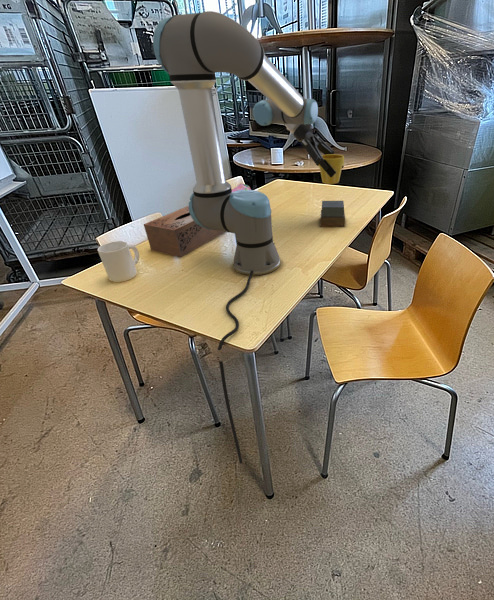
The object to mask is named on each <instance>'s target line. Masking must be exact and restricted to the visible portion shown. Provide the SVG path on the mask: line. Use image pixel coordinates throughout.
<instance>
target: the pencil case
mask: <svg viewBox="0 0 494 600" xmlns="http://www.w3.org/2000/svg"><path fill="white" fill-rule="evenodd" d="M231 189H232V188H231ZM237 190H252V189H251V187H250V186H249V185H248V184H245V183H241V182H240V183H239V184H238V185H236V187H234V188H233V189H232V192H234V191H237Z"/></svg>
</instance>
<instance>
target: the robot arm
mask: <svg viewBox="0 0 494 600" xmlns="http://www.w3.org/2000/svg"><path fill="white" fill-rule="evenodd" d="M152 46H153V52H154V56H155V58H156V59H155V60H156V61H157V63H158V65H160V66H161V67H160V68H161V69H162V70H163V71H164V72H166V74H168V76H169V80H170V84H172V85H173V86H174V87H175V88H176V89H177V91H178V95H179V100H180V105H181V111H182V115H183V120H184V125H185V130H186V136H187V142H188V145H189V151H190V155H191V156H190V157H191V160H192V161H191V162H192V165H193V170H194V171H193V172H194V177H195V181H196V183H195V185H194V186H193V187H192V194H191V195H190V196H189V200H190V201H188V206H189V212H190V215H191V217H192V219H193V220H194V222H195V223H196V224H198V225H199V226H201V227H204V228H207V229H210V230H219V231H225V233H229V234H230V233H231V234H234V236H235V243H236V247H235V252H234V255H233V268H234V270H235V271H236V272H237V273H239V274H241V275H245V276H248V278H247V281H246V284H245V287H244V288H243V290H242V291H240V292H239V293H238V294H236V295H234V296H233V297H232V298H231V299H229V300H228V302H227V303H226V305H225V311H226V313H227V314H228V316H229V317H230V318H231V319H232V320H233V321H234V323H235V326H234V329H232V330H230V331H229V332H228V333H226V334H224V336H223V337H222V338H221V339H220V341H219V343H218V346H217V351H221V350H222V348H223V345H224V343H225V341H226V340H227V339H228V338H229V337H231V336H232V335H234V334H235V333H237V332H238V330H239V328H240V321H239V319H238V318H237V317H236V316H235V315H234V313H232V311H231V310H230V305H231V304H232V303H233V302H234V301H235V300H237V299H239V298H240V297H241V296H243V295H244V294H245V293H246V292H247V290H249V286H250V282H251V281H252V280H251V279H252V276H263V275H267V274H271V273H272V272H275V271H276V270H278V269H279V268H280V266H281V258H280V254H279V252H278V250H277V247H276V245H275V242H274V236H273V223H272V208H271V203H270V199H269V197H268V195H266V194H265V193H264V192H262V191H259V190H255V189H251V190H237V191H234V192H232V184H230V183H229V182H228V181H227V180H226V176H225V169H224V163H223V155H222V149H221V142H220V137H219V136H220V135H219V130H218V123H217V115H216V110H215V103H214V97H213V90H212V89H213V87H214V85H215V84H216V82H217V77H216V73H227V74H232V75H234V76H235V77H236V78H238V79H239V80H240V81H246V82H247V81H248V83H249V84H251V86H253V87H254V88H255V89H256V90H257V91H259V92H260V93H261V95H263V96H264V97H265V99H261V100H259V101H258V102H256V103H255V104H254V106H253V109H252V115H253V119H254V120H255V122H256V123H257V124H258V125H260V126H262V127H265V126H269V125H271V124H275V125H276V124H277V125H279V124H281V125H282V124H283V125H284V126H285V127H286V130H287V131H289V132H290V133H291V134H292V135H293V137H294V138H295V139H296V140H297V142H298V143H299V142H300V144H301V145H302V147H304V149H305V150H306V152H307V153H308V155H309V157H310V158H311V160H312V162H314V164H315V165H316V166H317V167H319V166H318V165H319V164H320V166H321V167H322V168H323V169H324V170H325V171H326V173H327V174H328V175H329V176H330V177H331V178H332V177H333V176H334V175H335V174H336V171H335V170H334V169H333V168H332V167H331V165H330V164H329V163H328V162H327V161H326V160H325V159H323V157H322V155H326V154H336V151H335V150H333V149H332V147H330V146H329V144H327V143H326V142H325V140H323V139H322V138H321V137H320V136H319V134H318V133H315V134H314V133H313V130H314V126H313V125H314V124H315V123H316V121H317V120H318V117H319V116H318V115H319V105H318V102H317V101H316V100H315V99H314V98H308V97H307V98H305V97H303V96H302V94H301V93H300V92H299V91H298V90H297V88H295V87H294V86H293V84H292V83H291V82H290V81H289V80H288V79H287V78H286V76H284V74H283V73H282V72H281V71H280V70H279V69H278V68H277V67H276V66H275V64H273V62H272V61H271V60H270V59H269V58H268V57H267V55H266V54H265V49H264V47H263V45H262V44H261V42H260V41H259V40H258V39H257V38H256V37H255V36H254V35H253V33H251V32H250V31H249V30H248V29H246V27H244V26H242V24H240V23H239V22H237V20H234V19H233V18H231V17H229V16H227V15H225V14H222V13H220V12H217V11H209V10H208V11H203V12H194V13H185V14H174V15H171V16H170V17H166V18H163V19H161V20H160V21H159V22H158V23H157V26H156V27H155V29H154V32H153V37H152ZM344 167H345V166H344V165H343V166H342V169H343V168H344ZM218 364H219V369H220V378H221V383H222V389H223V395H224V400H225V406H226V410H227V414H228V419H229V424H230V427H231V431H232V435H233V439H234V444H235V449H236V452H237V456H238V461H239V464H243V458H242V454H241V448H240V444H239V440H238V436H237V431H236V427H235V422H234V419H233V414H232V410H231V409H232V408H231V404H230V399H229V394H228V388H227V382H226V376H225V375H226V374H225V368H224V367H225V366H224V362H223V360H222V361H221V360H219V361H218Z"/></svg>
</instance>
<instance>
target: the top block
mask: <svg viewBox="0 0 494 600" xmlns="http://www.w3.org/2000/svg"><path fill="white" fill-rule="evenodd" d="M321 210H322V217H344V213H345V202H344V200H322V201H321Z"/></svg>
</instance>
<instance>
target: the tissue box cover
mask: <svg viewBox="0 0 494 600" xmlns="http://www.w3.org/2000/svg"><path fill="white" fill-rule="evenodd" d="M143 228H144V231H145V234H146V237H147V242H148V244H149V248H150V250H151V251H152V252H157V253H161V254H166V255H170V256H172V257H173V256H174V257H177V258H182V257H184V256H186V255H188V254H190V253H191V252H193V251H195V250H197V249H198V248H200V247H202V246H204V245H205V244H208V243H209V242H210V241H213V240H215V239H216V238H218V237H220V236H222V235H223V234H225V233H226V232H225V231H219V230H210V229H207V228H204V227H201V226H199V225H198V224H196V223H195V222H194V220H193V219H192V217H191V215H190V212H189V205H187V206H185V207H182V208H179V209H178V210H175V211H172V212H170V213H168V214H167V213H166V214H165V215H163V216H161V217H160V216H159V217H158V218H155V219H153V220H150V221H148V222H146V223H144V224H143Z"/></svg>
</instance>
